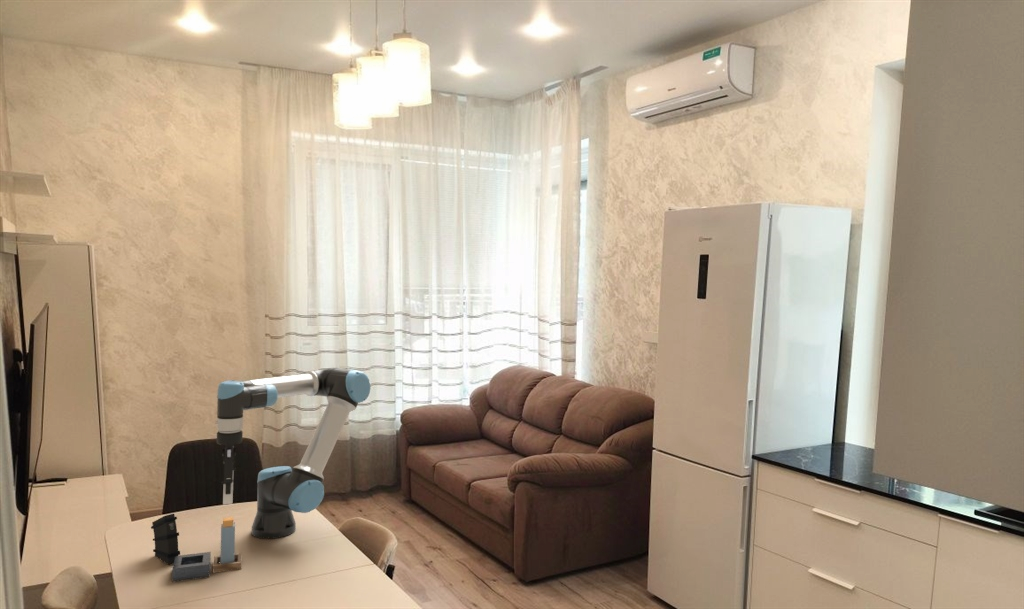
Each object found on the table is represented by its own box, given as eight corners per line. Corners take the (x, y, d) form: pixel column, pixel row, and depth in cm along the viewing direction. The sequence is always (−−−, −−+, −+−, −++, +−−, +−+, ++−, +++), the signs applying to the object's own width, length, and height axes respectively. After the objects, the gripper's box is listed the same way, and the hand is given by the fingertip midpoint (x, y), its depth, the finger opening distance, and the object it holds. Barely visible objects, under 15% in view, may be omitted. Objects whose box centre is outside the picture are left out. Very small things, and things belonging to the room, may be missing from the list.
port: (210, 564, 204) (210, 551, 204) (209, 577, 195) (209, 564, 195) (175, 568, 200) (175, 555, 200) (172, 582, 191) (172, 568, 191)
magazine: (172, 563, 200) (163, 515, 204) (155, 570, 208) (148, 524, 211) (184, 559, 203) (176, 512, 207) (168, 566, 211) (160, 521, 214)
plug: (234, 562, 206) (235, 516, 206) (234, 567, 202) (235, 520, 202) (220, 564, 204) (221, 517, 204) (220, 569, 201) (221, 521, 200)
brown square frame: (241, 558, 209) (241, 552, 209) (241, 568, 201) (241, 562, 201) (214, 562, 205) (214, 556, 205) (213, 572, 198) (213, 566, 198)
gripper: (218, 423, 213) (216, 487, 213) (215, 439, 190) (213, 511, 190) (242, 422, 216) (241, 485, 216) (242, 438, 193) (240, 508, 193)
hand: (228, 497), depth 203 cm, fingers open, 13 cm apart
